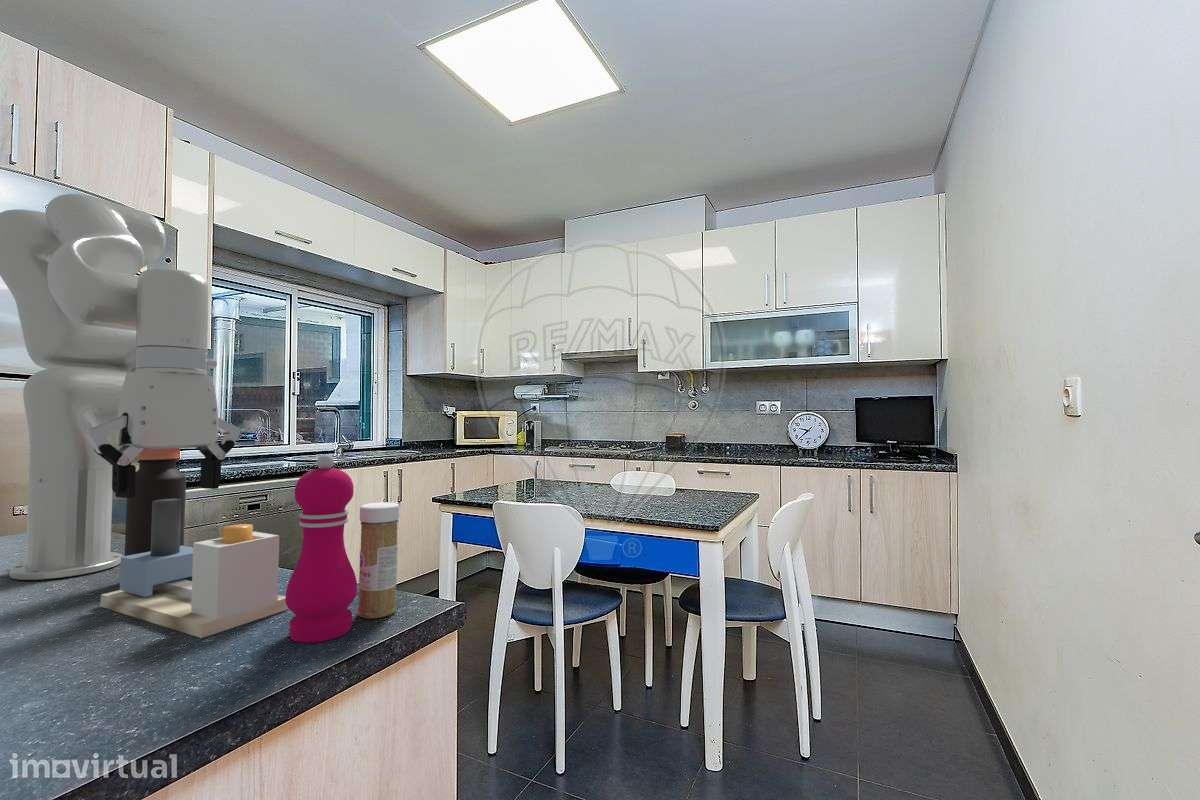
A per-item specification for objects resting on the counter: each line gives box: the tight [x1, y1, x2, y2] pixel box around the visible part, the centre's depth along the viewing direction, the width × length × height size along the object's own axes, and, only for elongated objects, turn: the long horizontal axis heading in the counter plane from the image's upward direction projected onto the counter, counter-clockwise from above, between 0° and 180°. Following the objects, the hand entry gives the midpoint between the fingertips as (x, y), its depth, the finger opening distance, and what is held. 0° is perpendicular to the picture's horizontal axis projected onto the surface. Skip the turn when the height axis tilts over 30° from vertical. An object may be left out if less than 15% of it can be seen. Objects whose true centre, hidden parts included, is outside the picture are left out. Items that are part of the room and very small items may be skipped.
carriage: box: [119, 499, 193, 597], centre depth 71 cm, size 6×7×11 cm
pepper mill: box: [285, 453, 358, 644], centre depth 61 cm, size 7×7×20 cm
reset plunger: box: [222, 523, 254, 544], centre depth 65 cm, size 3×3×4 cm
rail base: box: [100, 579, 290, 639], centre depth 68 cm, size 22×10×3 cm, turn 64°
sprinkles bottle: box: [356, 501, 400, 620], centre depth 67 cm, size 5×5×13 cm
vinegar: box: [124, 448, 187, 556], centre depth 80 cm, size 7×7×20 cm
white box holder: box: [191, 531, 280, 620], centre depth 65 cm, size 5×7×8 cm
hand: (169, 492), depth 71 cm, fingers open, 9 cm apart
